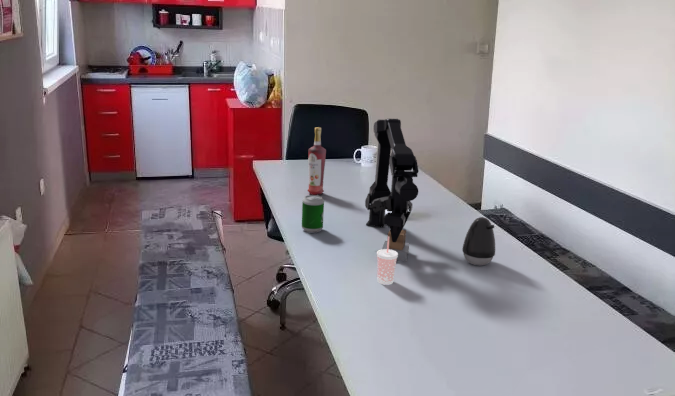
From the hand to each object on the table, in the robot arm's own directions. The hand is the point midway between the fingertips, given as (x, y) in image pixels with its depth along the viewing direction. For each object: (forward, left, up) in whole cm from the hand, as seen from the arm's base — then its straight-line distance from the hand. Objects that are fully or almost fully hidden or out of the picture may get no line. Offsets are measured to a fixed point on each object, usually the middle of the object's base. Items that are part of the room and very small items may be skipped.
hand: (396, 237), depth 202 cm
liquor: (-54, -44, -6) cm, 70 cm away
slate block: (0, 0, -6) cm, 6 cm away
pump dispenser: (-4, +26, -6) cm, 27 cm away
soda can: (-12, -32, -6) cm, 35 cm away
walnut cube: (0, 0, -3) cm, 3 cm away
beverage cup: (+21, +1, -6) cm, 22 cm away
